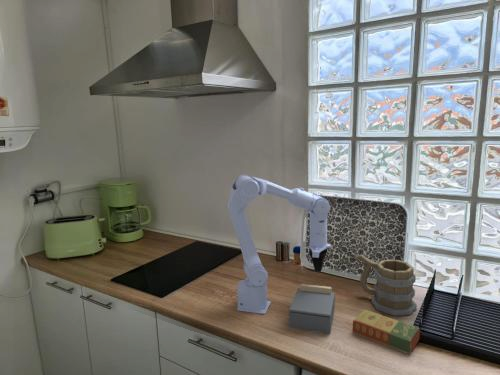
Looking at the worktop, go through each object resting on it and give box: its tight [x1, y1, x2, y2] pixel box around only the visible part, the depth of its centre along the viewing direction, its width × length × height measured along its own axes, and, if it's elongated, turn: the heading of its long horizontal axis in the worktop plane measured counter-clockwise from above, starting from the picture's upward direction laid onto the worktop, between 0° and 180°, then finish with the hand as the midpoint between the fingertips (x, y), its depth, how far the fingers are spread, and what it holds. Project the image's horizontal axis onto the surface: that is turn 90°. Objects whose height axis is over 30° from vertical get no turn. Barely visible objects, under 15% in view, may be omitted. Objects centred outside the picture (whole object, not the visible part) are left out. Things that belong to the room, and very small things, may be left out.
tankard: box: [354, 253, 417, 317], centre depth 118 cm, size 20×13×15 cm, turn 45°
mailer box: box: [288, 295, 336, 335], centre depth 110 cm, size 12×14×5 cm
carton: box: [352, 309, 421, 355], centre depth 100 cm, size 8×16×4 cm, turn 49°
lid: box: [288, 283, 336, 317], centre depth 110 cm, size 12×14×2 cm
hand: (318, 270), depth 121 cm, fingers closed
